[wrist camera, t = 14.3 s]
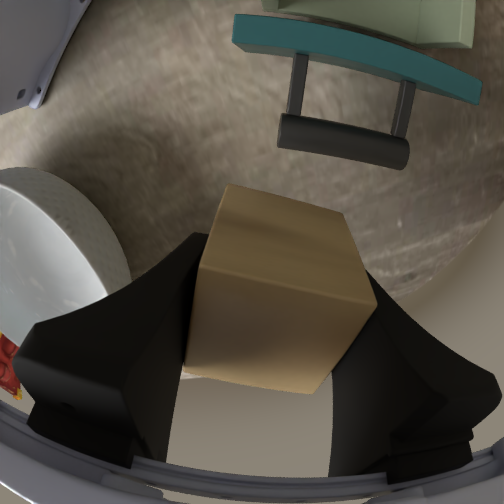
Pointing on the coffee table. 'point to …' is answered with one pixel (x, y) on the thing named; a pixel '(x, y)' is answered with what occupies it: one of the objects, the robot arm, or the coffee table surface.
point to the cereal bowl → (51, 251)
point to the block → (276, 294)
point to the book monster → (8, 367)
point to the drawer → (363, 64)
